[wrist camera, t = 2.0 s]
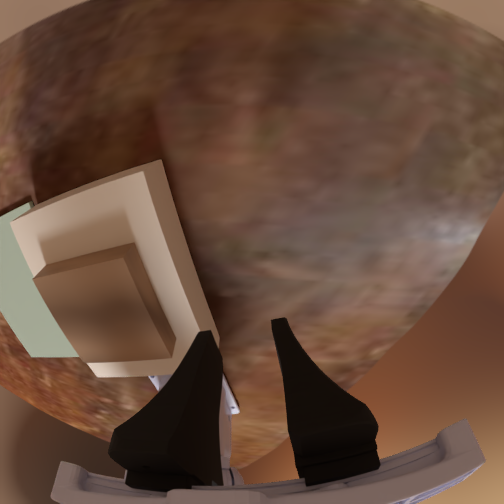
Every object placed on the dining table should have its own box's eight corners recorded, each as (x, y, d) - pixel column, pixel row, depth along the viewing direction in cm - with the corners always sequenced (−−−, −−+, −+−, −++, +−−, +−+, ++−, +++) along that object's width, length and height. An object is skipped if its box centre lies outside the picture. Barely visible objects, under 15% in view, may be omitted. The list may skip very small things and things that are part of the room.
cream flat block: (219, 336, 26) (217, 370, 22) (109, 348, 27) (97, 377, 23) (161, 159, 19) (143, 171, 15) (37, 204, 19) (9, 222, 16)
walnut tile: (176, 338, 21) (171, 358, 19) (92, 346, 21) (84, 363, 19) (134, 242, 17) (123, 257, 15) (45, 264, 18) (32, 279, 16)
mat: (107, 352, 27) (106, 355, 26) (33, 354, 28) (31, 357, 27) (32, 200, 19) (28, 202, 19) (-33, 235, 20) (-36, 237, 20)
